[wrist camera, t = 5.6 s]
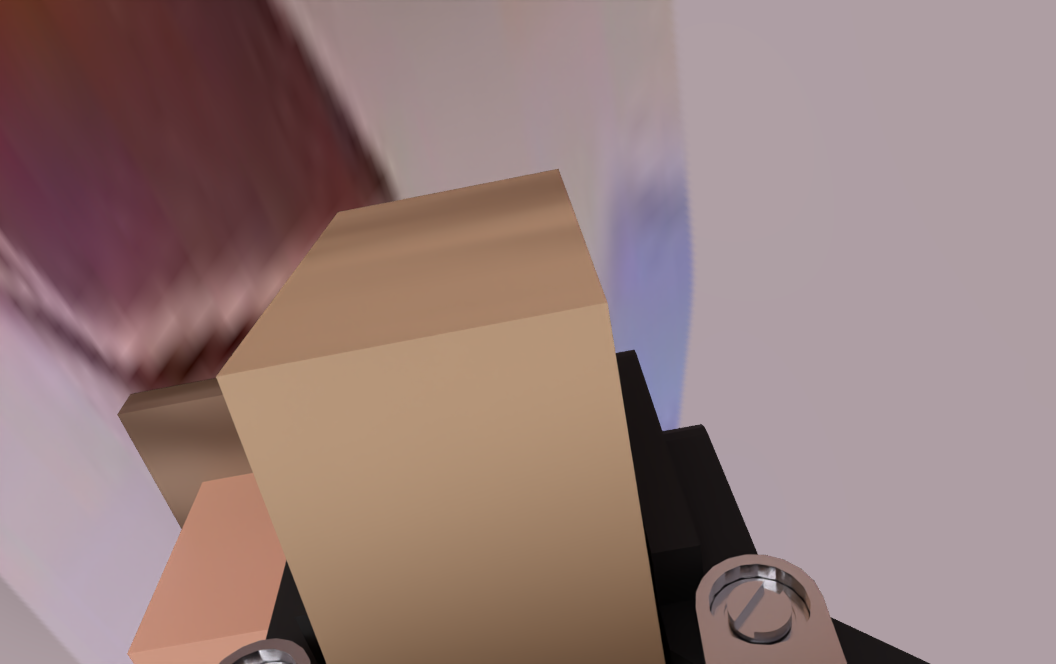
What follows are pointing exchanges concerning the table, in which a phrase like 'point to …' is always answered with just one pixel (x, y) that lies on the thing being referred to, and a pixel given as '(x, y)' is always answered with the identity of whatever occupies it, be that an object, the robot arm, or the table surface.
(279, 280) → the table surface
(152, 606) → the peach flat slab
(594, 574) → the tan block
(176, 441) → the walnut board
